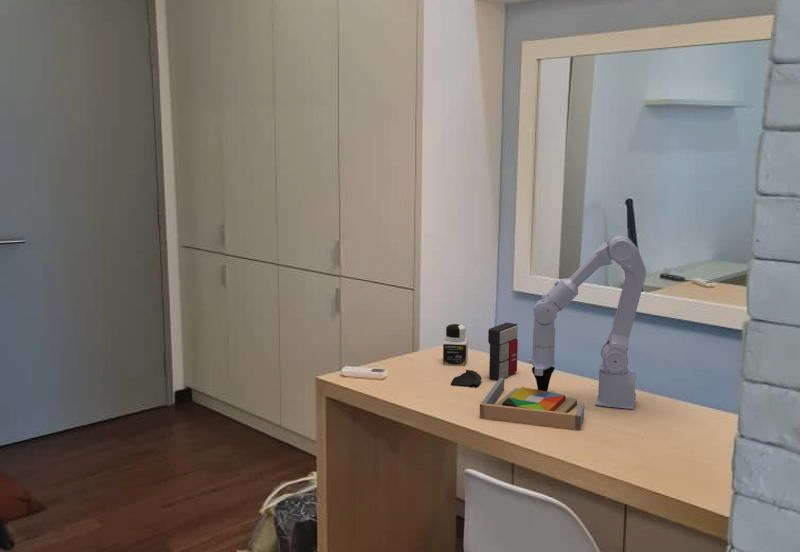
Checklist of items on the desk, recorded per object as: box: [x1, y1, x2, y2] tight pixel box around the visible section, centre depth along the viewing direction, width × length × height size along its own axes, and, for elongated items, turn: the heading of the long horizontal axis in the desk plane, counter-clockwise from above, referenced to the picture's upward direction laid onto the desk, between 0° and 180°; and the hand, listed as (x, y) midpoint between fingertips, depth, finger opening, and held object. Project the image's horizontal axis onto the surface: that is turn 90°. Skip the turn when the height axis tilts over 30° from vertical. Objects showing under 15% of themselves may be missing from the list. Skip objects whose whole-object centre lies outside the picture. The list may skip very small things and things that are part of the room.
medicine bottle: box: [442, 323, 469, 367], centre depth 233 cm, size 7×7×12 cm
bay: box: [479, 378, 585, 431], centre depth 192 cm, size 24×24×4 cm
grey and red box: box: [487, 322, 519, 382], centre depth 218 cm, size 11×4×15 cm, turn 143°
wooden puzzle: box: [495, 386, 578, 413], centre depth 192 cm, size 18×19×4 cm
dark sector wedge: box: [450, 369, 482, 389], centre depth 216 cm, size 8×14×2 cm, turn 162°
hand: (542, 393), depth 200 cm, fingers closed, pressing on wooden puzzle
